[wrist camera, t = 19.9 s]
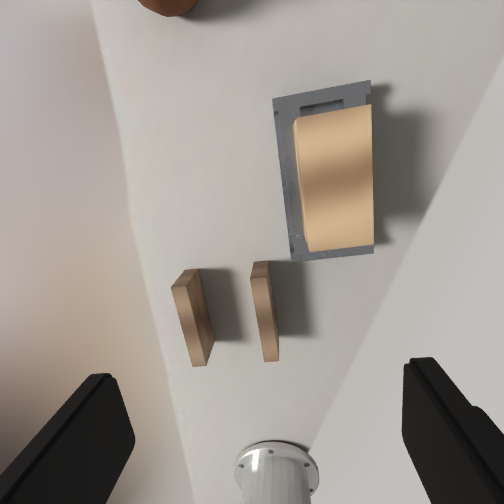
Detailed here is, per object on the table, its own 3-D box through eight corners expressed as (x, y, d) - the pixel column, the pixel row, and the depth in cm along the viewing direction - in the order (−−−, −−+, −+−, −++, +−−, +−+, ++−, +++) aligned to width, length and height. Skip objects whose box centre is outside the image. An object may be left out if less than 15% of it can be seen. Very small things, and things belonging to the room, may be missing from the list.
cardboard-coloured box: (356, 228, 27) (374, 244, 22) (304, 235, 27) (309, 252, 23) (352, 113, 23) (371, 104, 19) (292, 124, 24) (296, 117, 19)
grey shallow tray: (365, 245, 30) (373, 253, 27) (290, 253, 31) (291, 262, 28) (361, 87, 25) (370, 79, 23) (272, 103, 26) (272, 98, 24)
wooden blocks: (278, 335, 34) (279, 361, 30) (202, 341, 36) (192, 366, 32) (267, 260, 31) (266, 277, 27) (184, 270, 33) (170, 287, 28)
